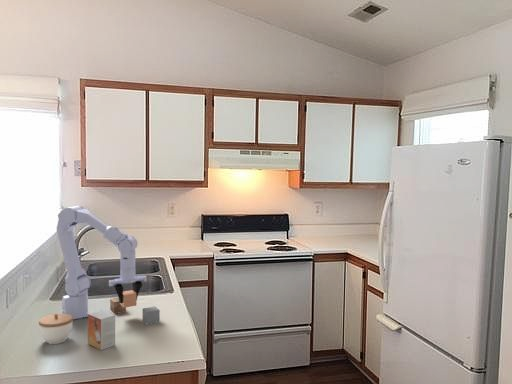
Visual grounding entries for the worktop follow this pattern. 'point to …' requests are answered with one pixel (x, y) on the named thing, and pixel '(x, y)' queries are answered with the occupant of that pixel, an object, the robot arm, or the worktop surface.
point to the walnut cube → (116, 306)
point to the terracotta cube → (129, 299)
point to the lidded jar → (56, 327)
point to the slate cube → (151, 315)
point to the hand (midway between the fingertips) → (128, 301)
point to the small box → (101, 329)
